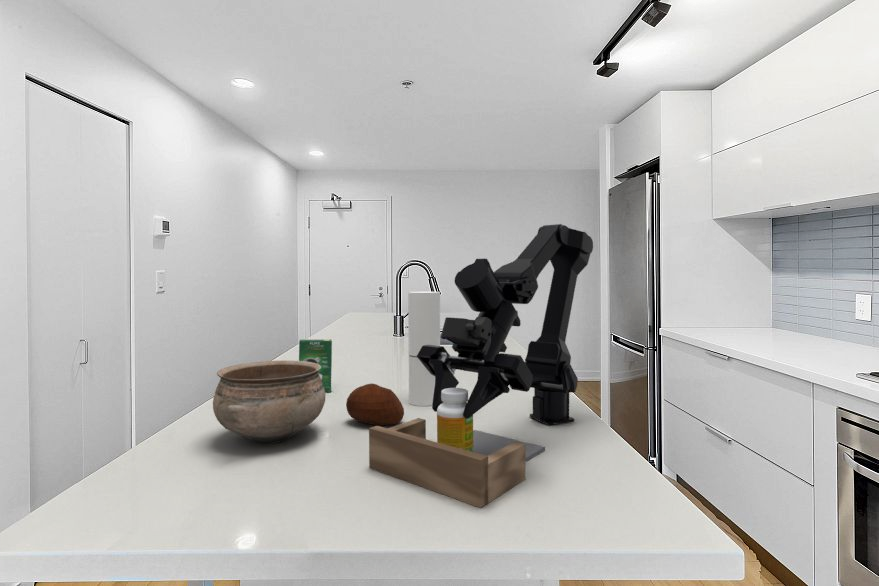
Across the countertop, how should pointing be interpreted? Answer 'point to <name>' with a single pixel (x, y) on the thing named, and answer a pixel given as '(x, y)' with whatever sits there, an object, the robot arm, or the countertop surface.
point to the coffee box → (318, 358)
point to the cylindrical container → (422, 343)
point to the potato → (374, 405)
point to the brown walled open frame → (445, 463)
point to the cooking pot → (268, 399)
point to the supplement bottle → (454, 420)
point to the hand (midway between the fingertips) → (449, 413)
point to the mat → (500, 444)
